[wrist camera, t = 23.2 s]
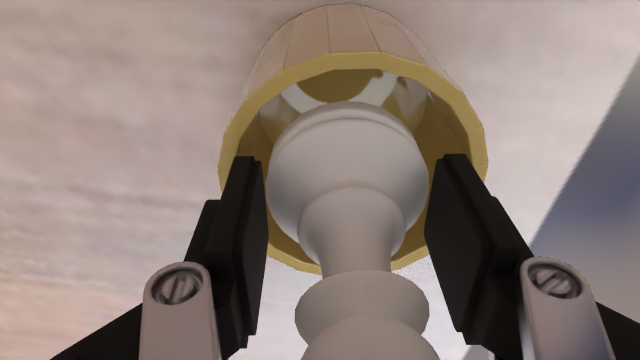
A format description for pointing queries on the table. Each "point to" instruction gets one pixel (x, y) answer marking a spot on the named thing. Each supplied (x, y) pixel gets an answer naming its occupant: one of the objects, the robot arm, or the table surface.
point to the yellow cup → (356, 86)
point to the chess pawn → (352, 229)
